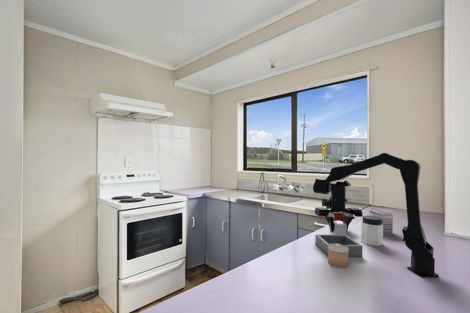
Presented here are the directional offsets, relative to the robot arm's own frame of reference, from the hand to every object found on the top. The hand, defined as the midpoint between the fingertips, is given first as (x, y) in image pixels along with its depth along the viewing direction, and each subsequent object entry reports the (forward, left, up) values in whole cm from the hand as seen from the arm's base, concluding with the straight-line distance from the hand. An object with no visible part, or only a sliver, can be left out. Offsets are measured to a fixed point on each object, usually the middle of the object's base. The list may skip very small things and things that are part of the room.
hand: (337, 231), depth 103 cm
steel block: (0, 0, -1) cm, 1 cm away
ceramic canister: (-13, +6, -8) cm, 16 cm away
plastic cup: (+28, -16, -8) cm, 33 cm away
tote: (0, 0, -8) cm, 8 cm away
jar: (+9, -21, -8) cm, 24 cm away
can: (+25, -36, -8) cm, 45 cm away
